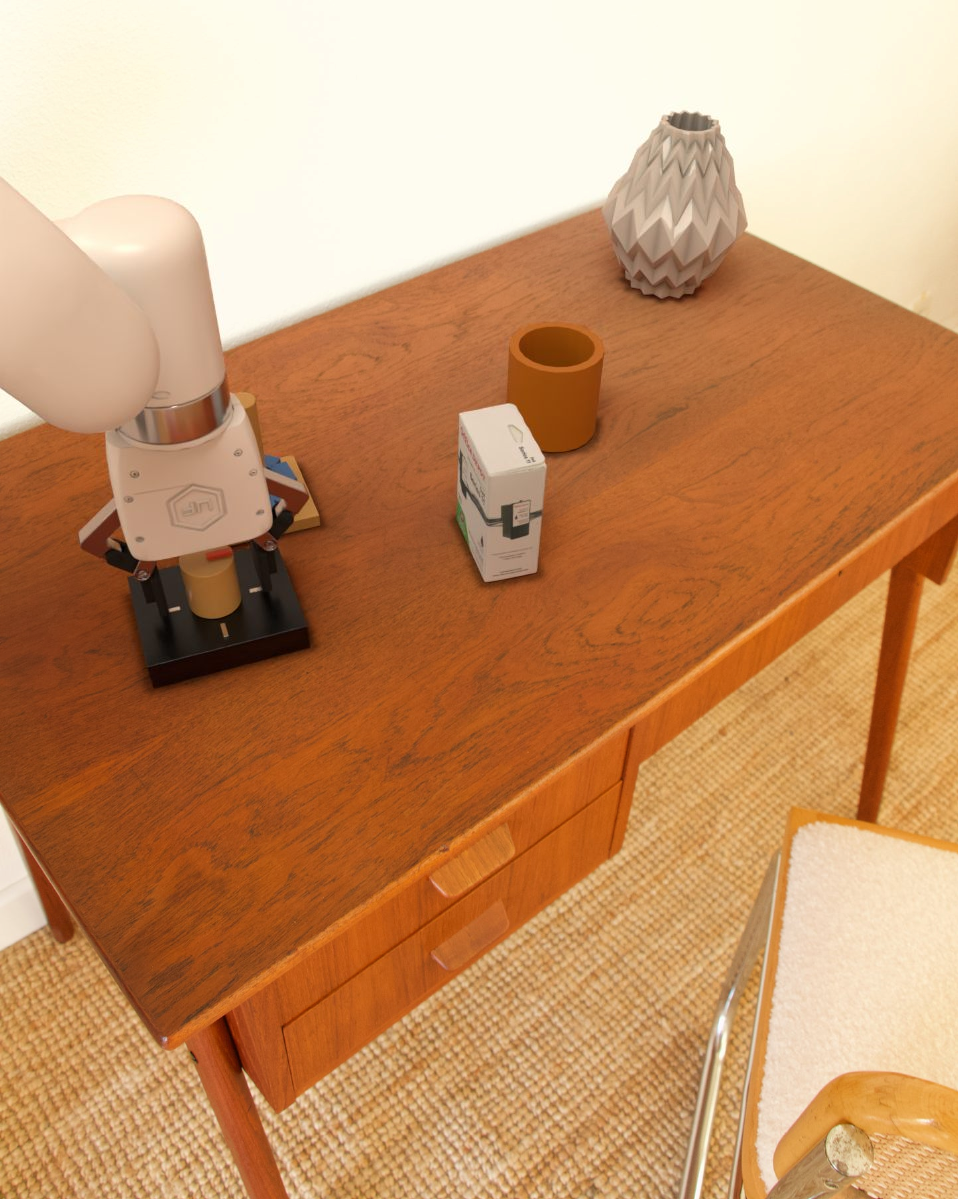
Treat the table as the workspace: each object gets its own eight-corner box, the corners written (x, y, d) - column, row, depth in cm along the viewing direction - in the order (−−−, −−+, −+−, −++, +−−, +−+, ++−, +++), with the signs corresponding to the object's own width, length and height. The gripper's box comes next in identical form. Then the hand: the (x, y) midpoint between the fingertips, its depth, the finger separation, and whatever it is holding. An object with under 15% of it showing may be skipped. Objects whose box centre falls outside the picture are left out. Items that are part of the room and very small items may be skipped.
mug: (630, 410, 103) (643, 331, 96) (558, 465, 96) (567, 384, 90) (560, 376, 107) (568, 298, 100) (486, 426, 100) (489, 346, 94)
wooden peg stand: (217, 549, 87) (195, 443, 79) (197, 485, 92) (174, 380, 84) (320, 525, 89) (309, 420, 81) (294, 464, 95) (281, 361, 87)
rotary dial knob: (194, 624, 77) (183, 579, 74) (184, 589, 80) (173, 544, 76) (246, 611, 78) (238, 566, 75) (235, 577, 81) (226, 532, 77)
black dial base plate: (153, 688, 76) (146, 665, 74) (133, 598, 82) (126, 574, 80) (310, 647, 79) (307, 624, 77) (279, 563, 86) (276, 540, 84)
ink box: (453, 518, 90) (456, 407, 82) (506, 509, 92) (514, 398, 83) (483, 586, 85) (489, 473, 76) (539, 574, 86) (550, 463, 77)
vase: (721, 252, 127) (754, 96, 113) (739, 321, 115) (778, 156, 102) (590, 245, 127) (609, 88, 114) (595, 314, 115) (616, 148, 102)
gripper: (33, 460, 61) (103, 655, 74) (317, 404, 66) (336, 597, 78) (23, 391, 66) (90, 586, 78) (288, 344, 70) (311, 535, 83)
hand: (213, 590), depth 78 cm, fingers open, 7 cm apart
